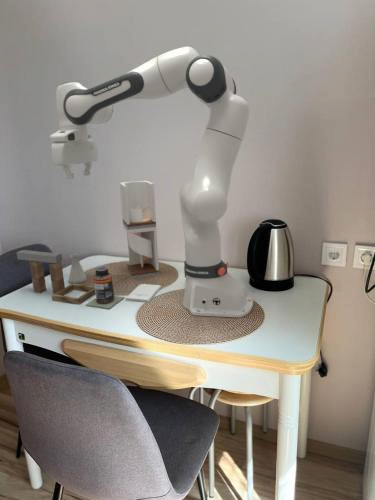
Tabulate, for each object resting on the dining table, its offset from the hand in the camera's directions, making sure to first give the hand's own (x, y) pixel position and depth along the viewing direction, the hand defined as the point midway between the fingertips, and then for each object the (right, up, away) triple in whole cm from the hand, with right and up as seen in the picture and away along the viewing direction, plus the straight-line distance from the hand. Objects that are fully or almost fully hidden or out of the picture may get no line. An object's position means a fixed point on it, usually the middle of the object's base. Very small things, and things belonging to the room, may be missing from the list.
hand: (79, 177), depth 137 cm
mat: (+10, -42, -5) cm, 44 cm away
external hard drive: (+22, -41, 0) cm, 46 cm away
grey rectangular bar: (-14, -28, +2) cm, 32 cm away
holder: (-6, -41, +2) cm, 41 cm away
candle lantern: (+20, -34, +21) cm, 44 cm away
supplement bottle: (+10, -42, -5) cm, 43 cm away
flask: (-5, -37, +15) cm, 40 cm away
